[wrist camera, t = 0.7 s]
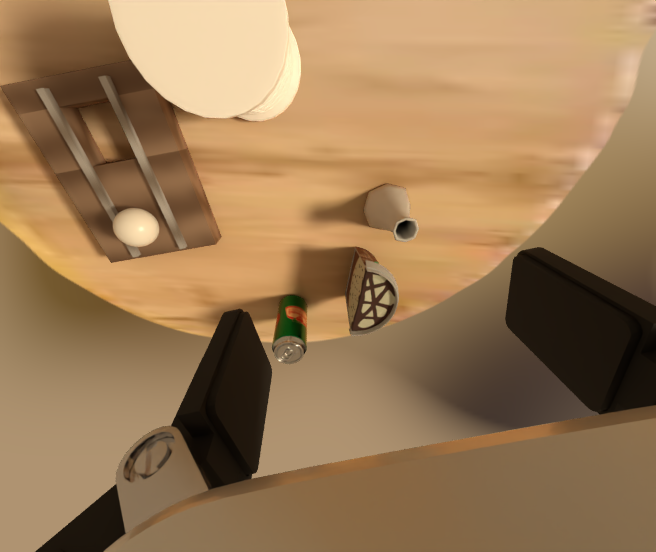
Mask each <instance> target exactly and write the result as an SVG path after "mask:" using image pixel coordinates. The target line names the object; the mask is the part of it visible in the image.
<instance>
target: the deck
mask: <svg viewBox="0 0 656 552" xmlns="http://www.w3.org/2000/svg"><path fill="white" fill-rule="evenodd" d="M0 87H1V88H2V90H3V92H4V93H5V95H6V96H7V98H8V100H9V101H10V103H11V104H12V106H13V107H14V109H15V111H16V112H17V114H18V115H19V117H20V119H21V120H22V122H23V123H24V125H25V127H26V128H27V130H28V131H29V133H30V135H31V136H32V138H33V139H34V141H35V143H36V144H37V146H38V147H39V149H40V150H41V152H42V154H43V155H44V157H45V158H46V160H47V162H48V163H49V165H50V166H51V168H52V170H53V171H54V173H55V174H56V176H57V178H58V179H59V181H60V182H61V184H62V186H63V187H64V189H65V190H66V192H67V193H68V195H69V197H70V198H71V200H72V201H73V203H74V205H75V206H76V208H77V209H78V211H79V213H80V214H81V216H82V217H83V219H84V221H85V222H86V224H87V225H88V227H89V228H90V230H91V232H92V233H93V235H94V236H95V238H96V240H97V241H98V243H99V244H100V246H101V248H102V249H103V251H104V252H105V254H106V256H107V257H108V259H109V260H110V262H111V263H113V262H118V261H124V260H130V259H135V258H141V257H147V256H152V255H158V254H164V253H169V252H175V251H181V250H186V249H192V248H198V247H203V246H209V245H215V244H216V243H217V242H218V241H219V239H220V238H221V234H220V232H219V229H218V226H217V224H216V221H215V218H214V216H213V213H212V211H211V208H210V205H209V203H208V200H207V197H206V195H205V192H204V190H203V187H202V184H201V182H200V179H199V177H198V174H197V171H196V169H195V166H194V163H193V161H192V158H191V156H190V153H189V150H188V148H187V145H186V142H185V140H184V137H183V135H182V132H181V129H180V127H179V124H178V121H177V119H176V116H175V114H174V111H173V108H172V106H171V103H170V101H168V100H166V99H165V98H164V97H163V96H162V95H161V94H159V93H158V92H157V91H156V90H155V89H154V88H153V87H152V86H151V85H150V84H149V83H148V82H147V81H146V80H145V79H144V77H143V76H142V75H141V73H140V72H139V71H138V69H137V68H136V66H135V65H134V64H133V62H132V61H131V60H129V61H123V62H118V63H113V64H108V65H103V66H98V67H93V68H88V69H83V70H78V71H73V72H68V73H63V74H58V75H53V76H48V77H43V78H38V79H33V80H28V81H23V82H18V83H13V84H8V85H3V86H0ZM105 102H110V103H111V105H112V107H113V109H114V111H115V113H116V116H117V118H118V120H119V122H120V124H121V126H122V128H123V130H124V132H125V135H126V137H127V139H128V141H129V143H130V145H131V147H132V149H133V151H134V154H135V156H136V158H134V159H129V160H123V161H118V162H113V163H106V161H105V160H104V158H103V156H102V154H101V152H100V150H99V148H98V146H97V144H96V143H95V141H94V139H93V137H92V135H91V133H90V131H89V129H88V127H87V126H86V124H85V122H84V120H83V118H82V116H81V114H80V112H79V110H78V109H77V108H79V107H84V106H89V105H94V104H100V103H105ZM128 208H139V209H143V210H145V211H147V212H149V213H151V214H152V215H153V216H154V217H155V218H156V220H157V222H158V224H159V234H158V236H157V238H156V239H155V241H154V242H152V243H151V244H149V245H146V246H142V247H134V246H130V245H127V244H125V243H123V242H122V241H121V240H119V239H118V238H117V236H116V235H115V233H114V230H113V221H114V218H115V217H116V215H117V214H118V213H119V212H121V211H123V210H125V209H128Z"/></svg>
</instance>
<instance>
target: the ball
mask: <svg viewBox="0 0 656 552" xmlns="http://www.w3.org/2000/svg"><path fill="white" fill-rule="evenodd" d="M113 230H114V233H115V235H116V236H117V238H118V239H119V240H121V241H122V242H123V243H125V244H127V245H130V246H134V247H142V246H146V245H149V244H151V243H152V242H154V241H155V239H156V238H157V236H158V234H159V224H158V222H157V220H156V218H155V217H154V216H153V215H152V214H151V213H149V212H147V211H145V210H143V209H139V208H128V209H125V210H123V211H121V212H119V213H118V214H117V215H116V217H115V218H114V221H113Z"/></svg>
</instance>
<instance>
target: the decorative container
mask: <svg viewBox="0 0 656 552" xmlns="http://www.w3.org/2000/svg"><path fill="white" fill-rule="evenodd" d="M108 2H109V6H110V10H111V13H112V17H113V21H114V25H115V29H116V31H117V33H118V35H119V37H120V40H121V42H122V44H123V46H124V48H125V50H126V52H127V54H128V56H129V58H130V59H131V61H132V62H133V64H134V65H135V66H136V68H137V69H138V71H139V72H140V73H141V75H142V76H143V77H144V79H145V80H146V81H147V82H148V83H149V84H150V85H151V86H152V87H153V88H154V89H155V90H156V91H157V92H158V93H159V94H161V95H162V96H163V97H164V98H165V99H166V100H168V101H170V102H171V103H173V104H174V105H176V106H178V107H179V108H181V109H183V110H184V111H187V112H190V113H193V114H196V115H199V116H202V117H206V118H233V117H239V118H242V119H245V120H248V121H265V120H269V119H273V118H275V117H277V116H278V115H280V114H281V113H283V112H284V111H285V110H286V109H287V108H288V106H289V105H290V104H291V103H292V101H293V99H294V97H295V95H296V93H297V91H298V87H299V82H300V77H301V59H300V55H299V50H298V46H297V42H296V40H295V37H294V35H293V33H292V31H291V29H290V26H289V24H288V12H287V8H286V3H285V0H108Z"/></svg>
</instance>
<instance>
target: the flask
mask: <svg viewBox="0 0 656 552" xmlns="http://www.w3.org/2000/svg"><path fill="white" fill-rule="evenodd" d="M363 211H364V214H365V216H366V219H367V222H368V224H369V227H374V228H378V229H383V230H388V231H391V232H393V234H394V237H395V240H397V241H402V242H407V241H410V240H412V239H414V238H415V237H416V234H417V232H418V230H419V228H418V224H417V221H416V219H413V218H410V217H409V215H410V202H409V199H408V195H407V192H406V188H404V187H400V186H396V185H391V184H385V185H383V186H381V187H378V188H376V189H374V190H372V191H369V193H368V196H367V200H366V203H365V206H364V210H363Z"/></svg>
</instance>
